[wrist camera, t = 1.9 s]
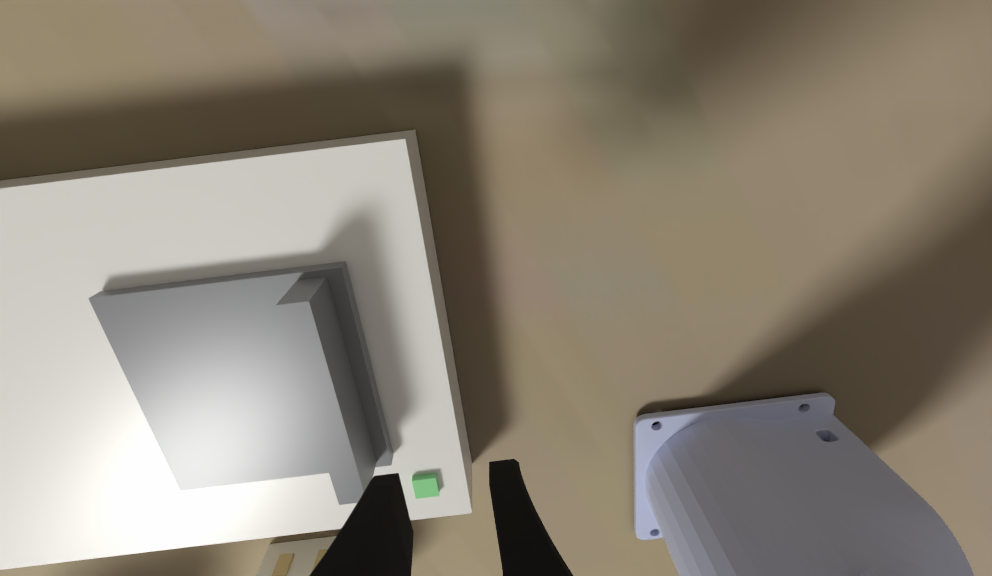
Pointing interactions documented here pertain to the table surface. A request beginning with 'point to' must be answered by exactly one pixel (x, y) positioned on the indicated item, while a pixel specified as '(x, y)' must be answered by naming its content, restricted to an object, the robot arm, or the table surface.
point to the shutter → (253, 376)
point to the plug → (294, 557)
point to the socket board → (198, 255)
